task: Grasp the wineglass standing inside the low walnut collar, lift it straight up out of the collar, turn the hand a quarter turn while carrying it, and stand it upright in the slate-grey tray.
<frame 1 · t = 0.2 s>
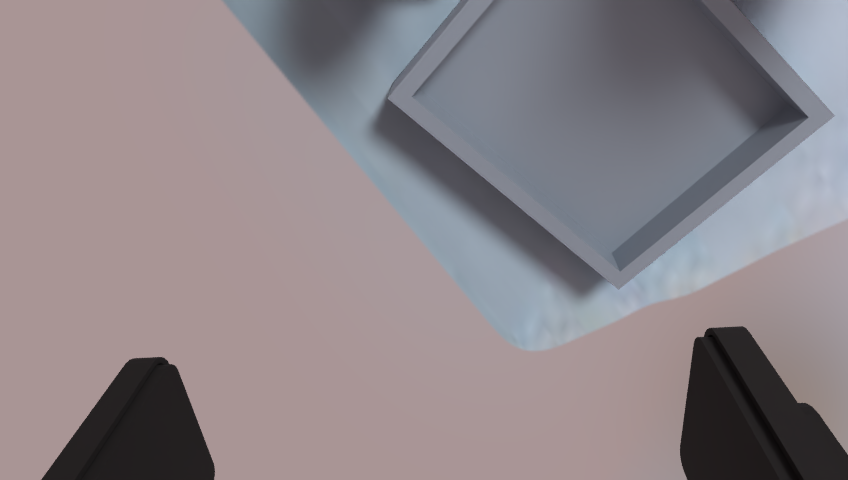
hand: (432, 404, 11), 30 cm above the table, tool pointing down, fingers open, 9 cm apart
tray: (596, 90, 38), on the table
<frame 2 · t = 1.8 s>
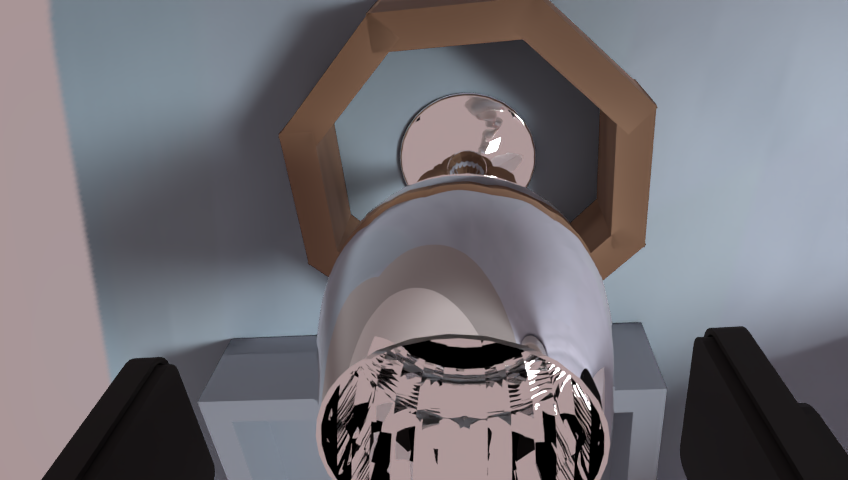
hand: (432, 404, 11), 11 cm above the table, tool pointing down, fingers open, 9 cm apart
collar: (467, 159, 20), on the table
wineglass: (467, 157, 20), resting in collar
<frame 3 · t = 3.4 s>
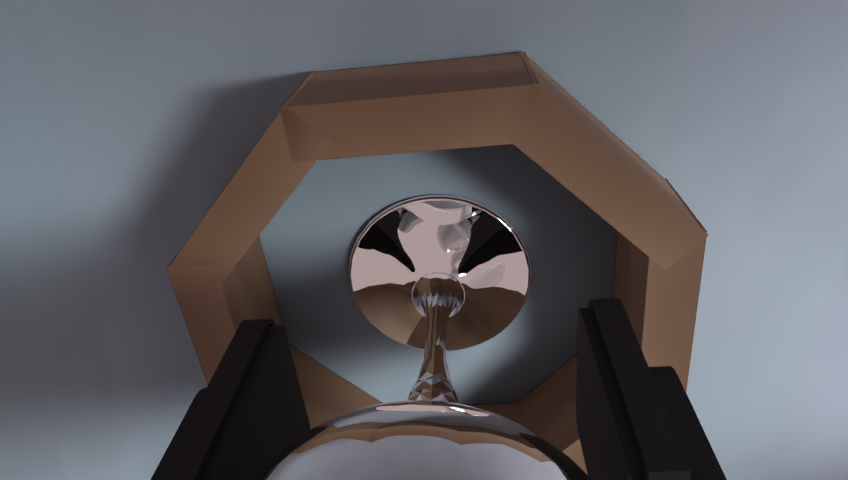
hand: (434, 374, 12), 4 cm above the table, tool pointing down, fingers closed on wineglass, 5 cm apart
collar: (439, 277, 15), on the table
wineglass: (439, 273, 15), resting in collar, touching gripper
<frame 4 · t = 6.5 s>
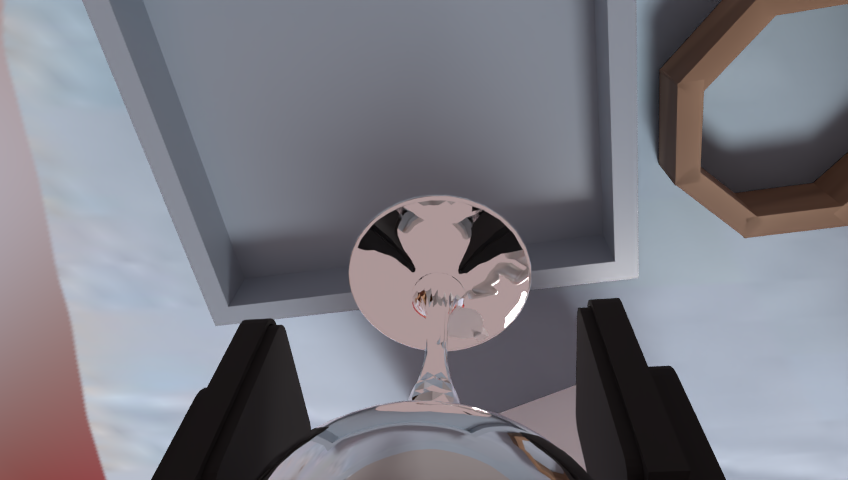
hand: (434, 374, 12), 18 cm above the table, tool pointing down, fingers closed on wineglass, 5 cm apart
collar: (782, 100, 26), on the table
milk: (559, 467, 38), on the table
wineglass: (439, 273, 15), point 14 cm above the table, touching gripper
tray: (391, 114, 28), on the table
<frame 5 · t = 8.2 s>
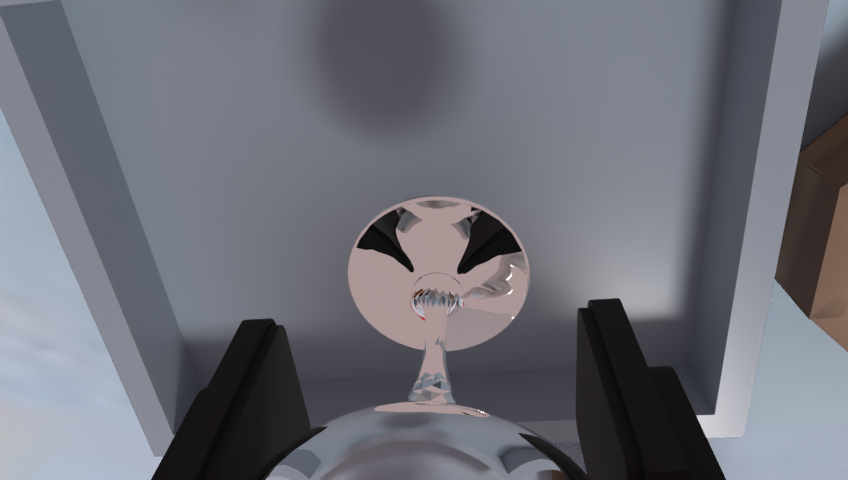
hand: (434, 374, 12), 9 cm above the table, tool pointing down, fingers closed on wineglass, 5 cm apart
wineglass: (438, 273, 15), point 5 cm above the table, touching gripper
tray: (415, 189, 20), on the table
when the fingers open (6 cm above the table, at t = 9.7 s): wineglass drops 1 cm, resting on tray.
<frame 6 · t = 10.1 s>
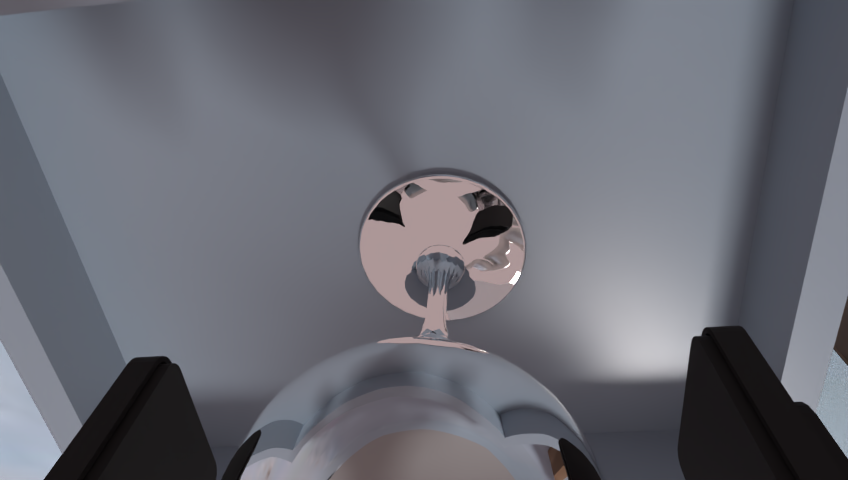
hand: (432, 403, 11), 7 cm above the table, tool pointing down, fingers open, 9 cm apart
wineglass: (442, 247, 16), point 1 cm above the table, touching tray
tray: (406, 232, 17), on the table
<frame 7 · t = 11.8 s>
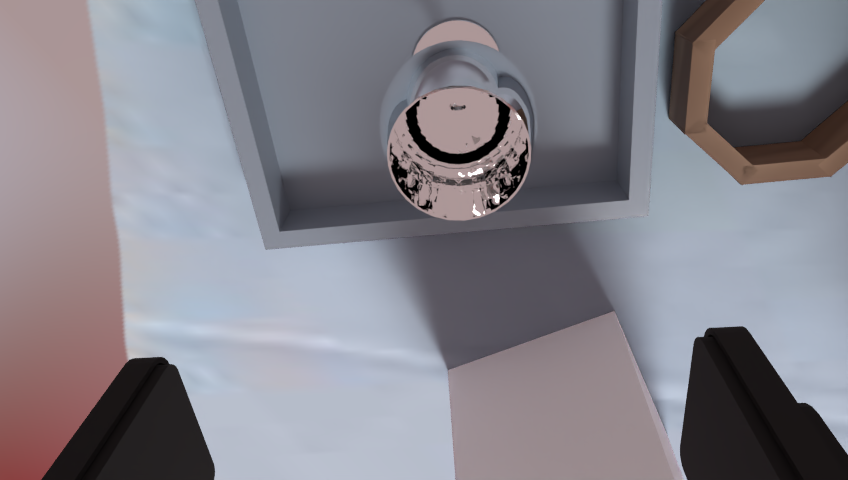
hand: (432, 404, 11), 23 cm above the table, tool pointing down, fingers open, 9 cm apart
collar: (779, 64, 30), on the table
milk: (560, 402, 42), on the table
wineglass: (456, 65, 30), point 1 cm above the table, touching tray
tray: (435, 62, 31), on the table
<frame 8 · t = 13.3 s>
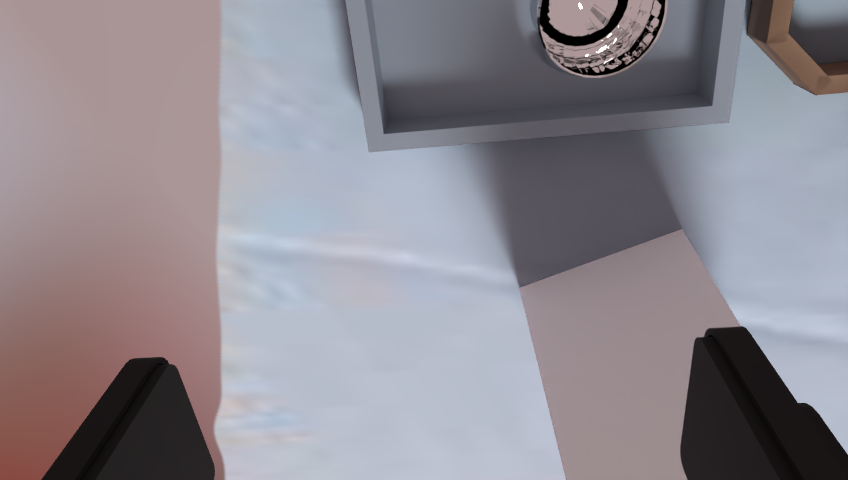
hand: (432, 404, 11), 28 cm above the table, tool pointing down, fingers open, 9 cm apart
milk: (623, 322, 45), on the table
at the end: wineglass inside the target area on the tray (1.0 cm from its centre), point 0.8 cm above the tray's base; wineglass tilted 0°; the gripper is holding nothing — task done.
